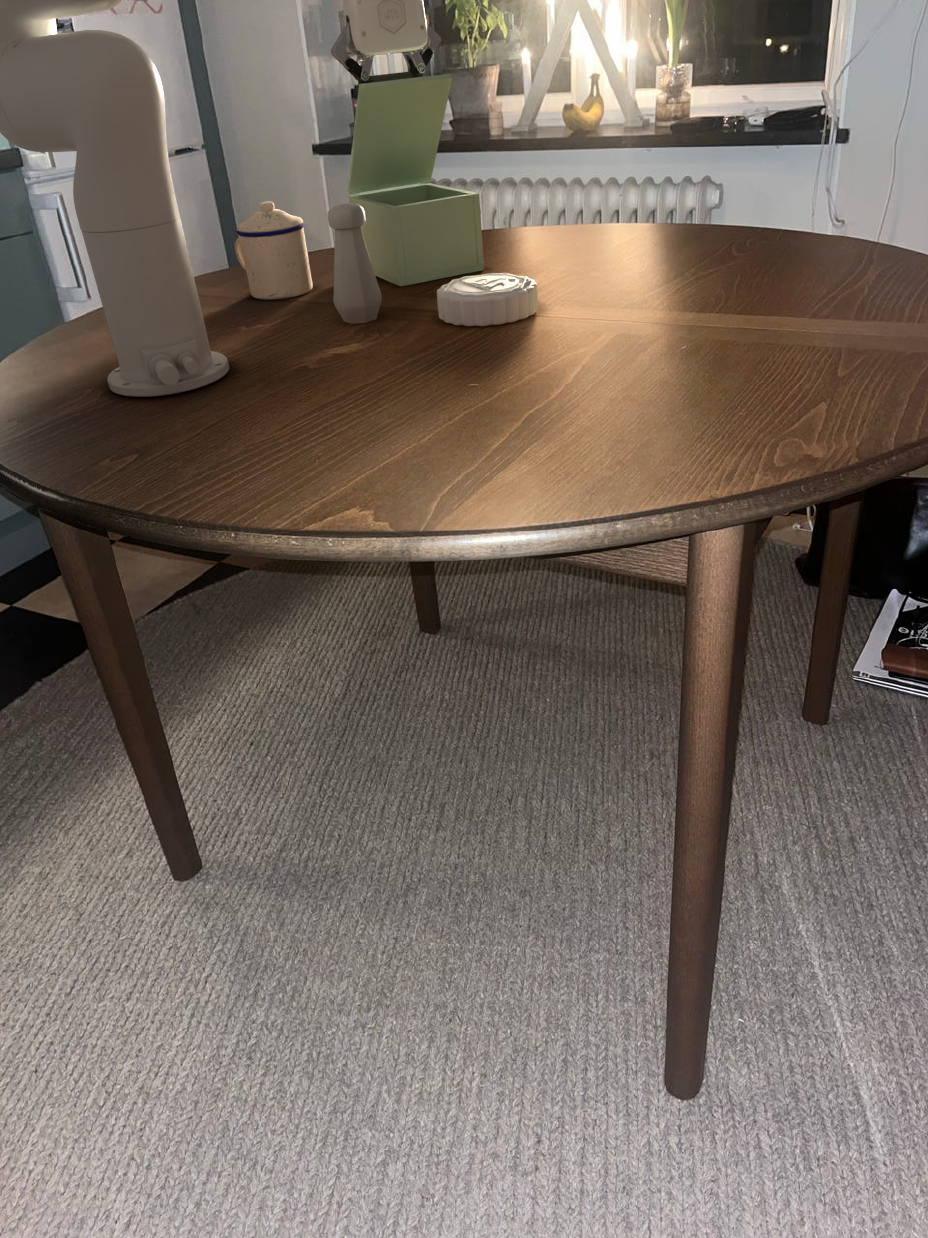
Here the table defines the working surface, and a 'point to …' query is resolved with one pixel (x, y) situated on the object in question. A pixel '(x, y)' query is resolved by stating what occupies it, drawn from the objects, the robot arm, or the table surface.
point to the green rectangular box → (422, 232)
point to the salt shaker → (353, 266)
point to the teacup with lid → (274, 254)
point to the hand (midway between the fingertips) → (394, 108)
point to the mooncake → (487, 299)
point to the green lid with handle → (397, 130)
